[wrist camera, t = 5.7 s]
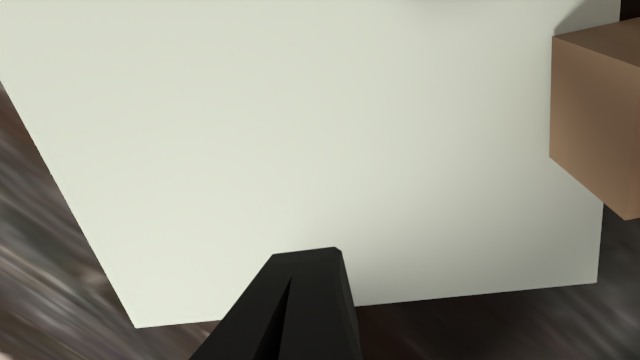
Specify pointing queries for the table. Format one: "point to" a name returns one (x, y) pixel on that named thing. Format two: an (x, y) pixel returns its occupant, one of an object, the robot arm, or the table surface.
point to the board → (305, 142)
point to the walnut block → (599, 111)
